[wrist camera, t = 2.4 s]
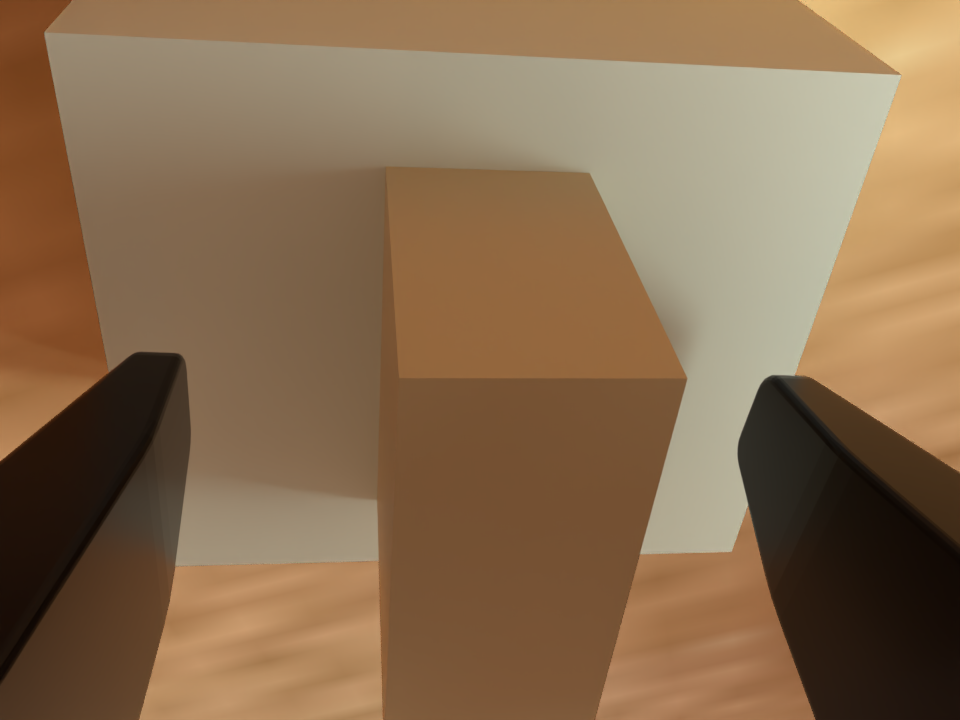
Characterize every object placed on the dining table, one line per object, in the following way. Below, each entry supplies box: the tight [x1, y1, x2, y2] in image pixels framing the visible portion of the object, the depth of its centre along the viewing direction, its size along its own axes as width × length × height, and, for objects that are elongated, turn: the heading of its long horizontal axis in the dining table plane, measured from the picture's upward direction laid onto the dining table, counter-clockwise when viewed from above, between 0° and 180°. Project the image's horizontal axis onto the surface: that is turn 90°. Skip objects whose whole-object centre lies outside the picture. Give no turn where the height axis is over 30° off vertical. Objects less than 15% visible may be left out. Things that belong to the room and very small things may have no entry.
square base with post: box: [44, 0, 902, 720], centre depth 9 cm, size 6×7×6 cm
